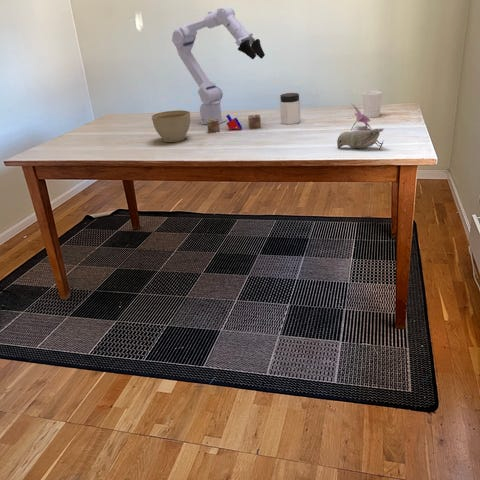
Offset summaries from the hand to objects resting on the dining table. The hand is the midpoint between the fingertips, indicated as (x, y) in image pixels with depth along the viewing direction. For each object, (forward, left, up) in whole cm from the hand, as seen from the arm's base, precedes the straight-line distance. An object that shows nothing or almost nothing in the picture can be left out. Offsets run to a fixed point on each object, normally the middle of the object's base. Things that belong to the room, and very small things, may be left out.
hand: (258, 57), depth 206 cm
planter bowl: (-28, -28, -29) cm, 49 cm away
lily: (+42, +5, -29) cm, 52 cm away
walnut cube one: (-3, -2, -29) cm, 29 cm away
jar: (+8, +10, -29) cm, 32 cm away
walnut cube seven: (-18, -12, -29) cm, 36 cm away
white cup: (+39, +27, -29) cm, 56 cm away
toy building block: (-11, -7, -29) cm, 32 cm away
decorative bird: (+52, -21, -29) cm, 63 cm away
